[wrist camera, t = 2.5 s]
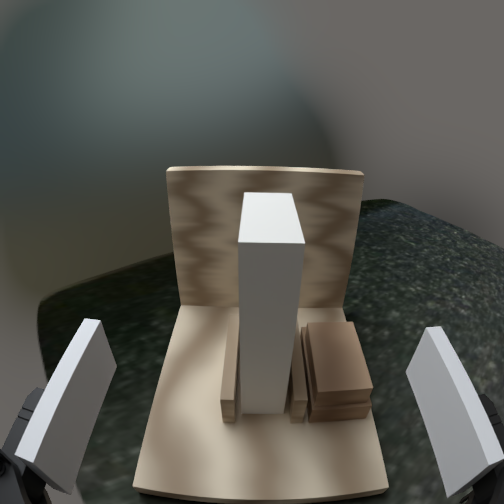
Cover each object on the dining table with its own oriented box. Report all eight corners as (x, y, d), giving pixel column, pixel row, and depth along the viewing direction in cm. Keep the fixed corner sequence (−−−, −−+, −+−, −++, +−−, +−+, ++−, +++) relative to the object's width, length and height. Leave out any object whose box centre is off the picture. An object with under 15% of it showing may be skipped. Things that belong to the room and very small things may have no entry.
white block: (279, 348, 32) (291, 193, 24) (283, 413, 25) (305, 243, 17) (244, 347, 32) (244, 192, 24) (241, 413, 25) (238, 242, 17)
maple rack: (337, 309, 39) (360, 171, 31) (382, 493, 18) (504, 339, 10) (184, 307, 40) (169, 167, 31) (137, 492, 19) (30, 335, 10)
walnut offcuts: (345, 339, 33) (353, 310, 31) (365, 418, 24) (379, 391, 22) (299, 341, 33) (303, 311, 31) (308, 422, 24) (316, 396, 22)
